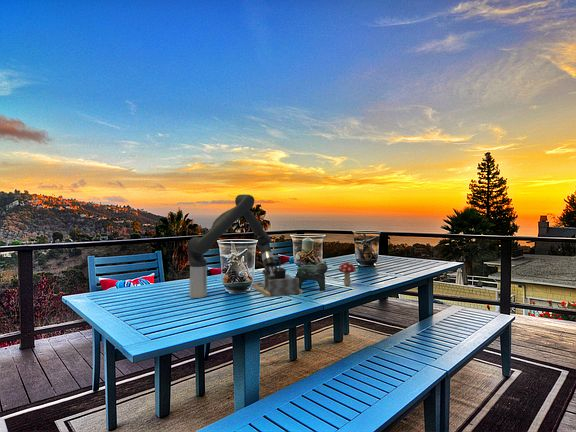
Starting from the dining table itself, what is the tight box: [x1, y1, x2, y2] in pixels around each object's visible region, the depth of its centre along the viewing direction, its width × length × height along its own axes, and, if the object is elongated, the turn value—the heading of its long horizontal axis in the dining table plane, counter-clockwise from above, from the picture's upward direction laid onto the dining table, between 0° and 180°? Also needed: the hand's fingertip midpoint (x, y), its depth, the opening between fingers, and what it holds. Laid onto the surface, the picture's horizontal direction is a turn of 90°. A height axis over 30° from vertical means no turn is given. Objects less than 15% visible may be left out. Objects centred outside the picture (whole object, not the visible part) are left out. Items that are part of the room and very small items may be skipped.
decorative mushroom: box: [338, 262, 357, 287], centre depth 221 cm, size 11×11×15 cm
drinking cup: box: [273, 258, 287, 279], centre depth 203 cm, size 8×8×20 cm
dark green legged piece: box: [294, 257, 328, 292], centre depth 209 cm, size 20×6×20 cm, turn 84°
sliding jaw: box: [262, 273, 291, 292], centre depth 208 cm, size 16×3×9 cm, turn 113°
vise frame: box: [251, 277, 303, 298], centre depth 210 cm, size 22×31×9 cm
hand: (275, 282), depth 210 cm, fingers closed
